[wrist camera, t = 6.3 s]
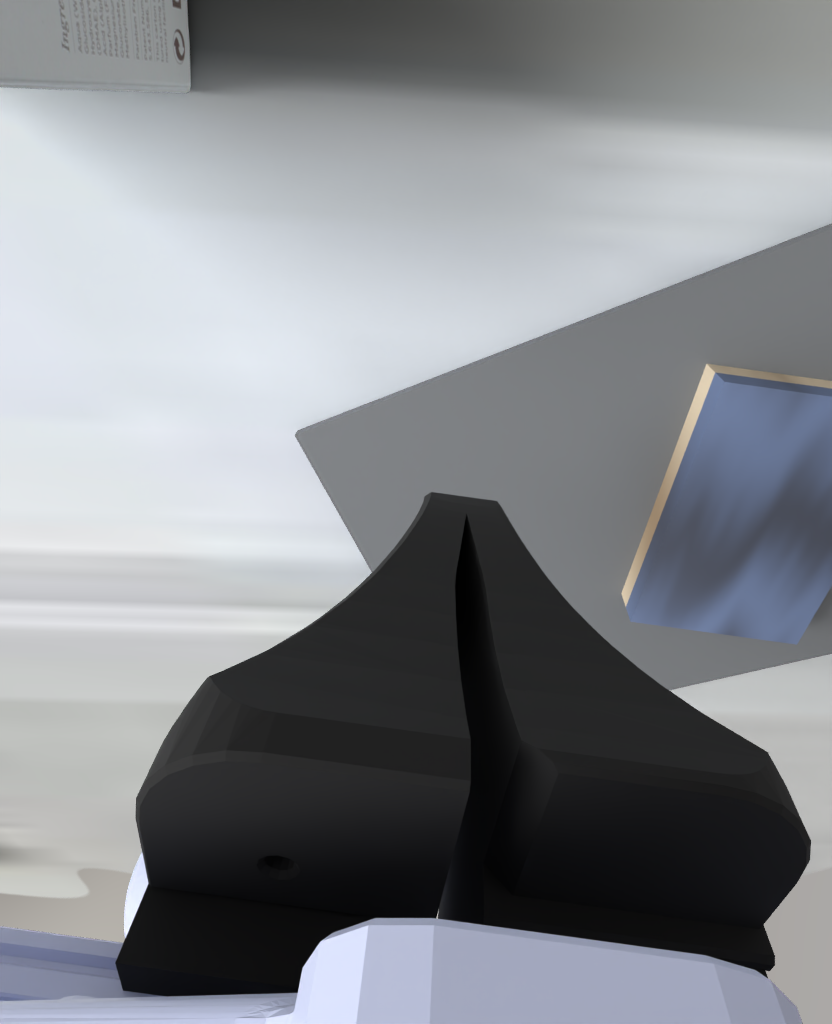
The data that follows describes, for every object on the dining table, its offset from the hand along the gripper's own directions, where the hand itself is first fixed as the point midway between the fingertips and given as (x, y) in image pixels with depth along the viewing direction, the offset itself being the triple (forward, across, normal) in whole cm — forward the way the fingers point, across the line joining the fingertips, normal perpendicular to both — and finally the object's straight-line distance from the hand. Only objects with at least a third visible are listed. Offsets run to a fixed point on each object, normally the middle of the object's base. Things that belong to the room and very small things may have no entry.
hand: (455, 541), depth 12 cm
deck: (+9, -7, +3) cm, 12 cm away
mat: (+10, -8, +5) cm, 13 cm away
